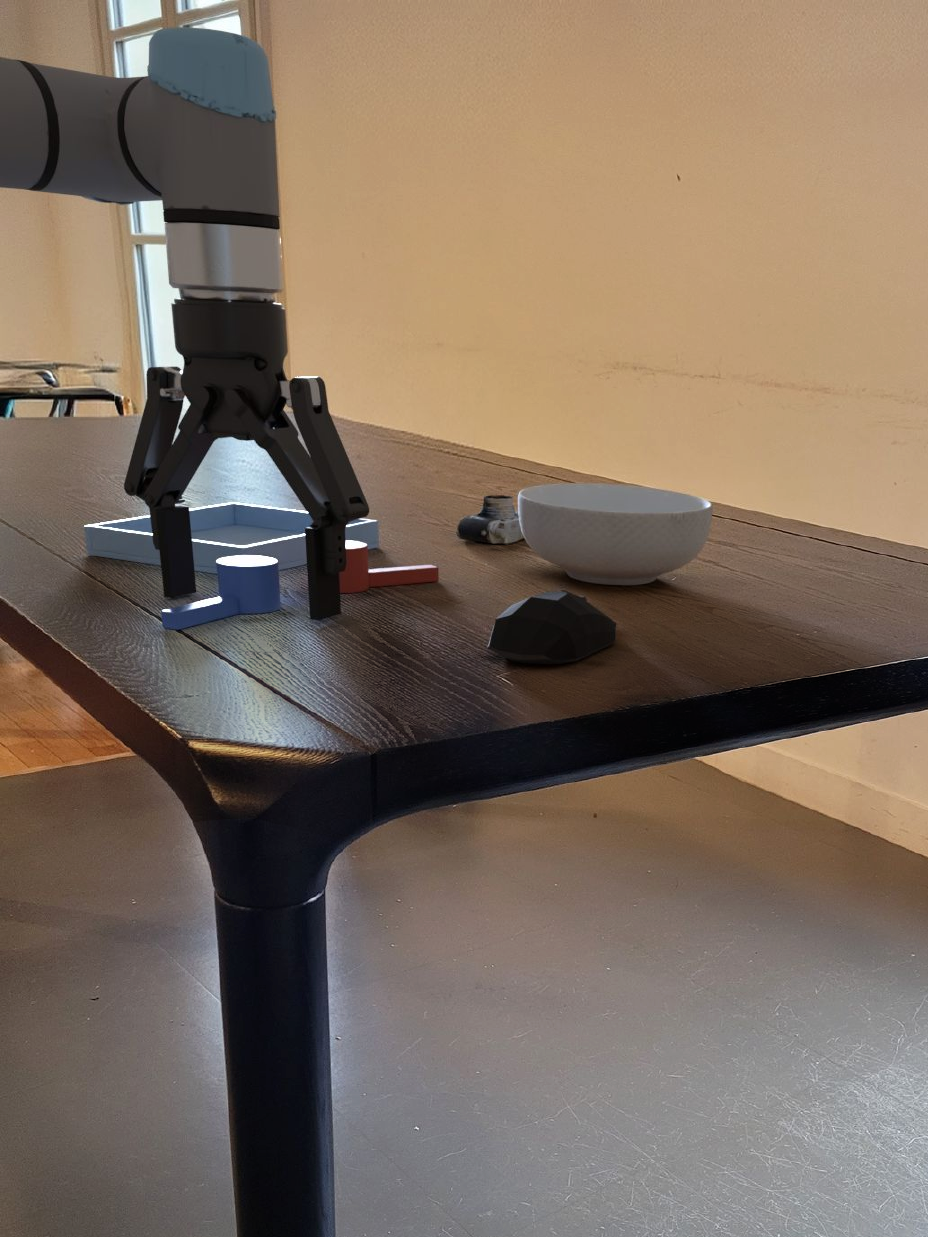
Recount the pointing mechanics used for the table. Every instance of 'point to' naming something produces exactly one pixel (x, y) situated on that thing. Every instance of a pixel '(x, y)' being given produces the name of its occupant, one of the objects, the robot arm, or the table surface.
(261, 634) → the table surface
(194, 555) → the blue tray
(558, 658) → the black faceted rock
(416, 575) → the red scoop
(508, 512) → the camera
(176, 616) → the blue scoop
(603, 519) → the cereal bowl
